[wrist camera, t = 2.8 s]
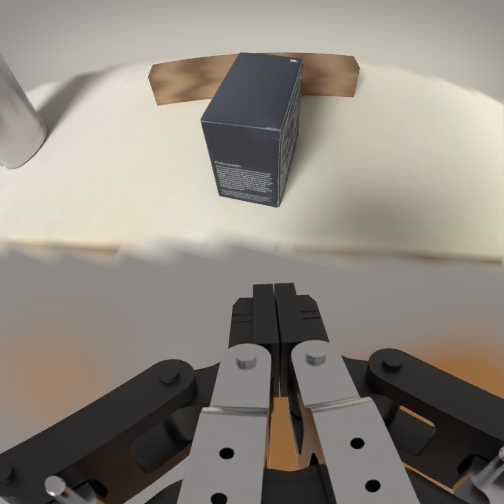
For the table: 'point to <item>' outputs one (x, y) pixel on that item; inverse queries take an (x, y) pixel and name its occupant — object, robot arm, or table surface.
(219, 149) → the small box
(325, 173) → the table surface
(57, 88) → the table surface
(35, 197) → the table surface
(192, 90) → the walnut board
